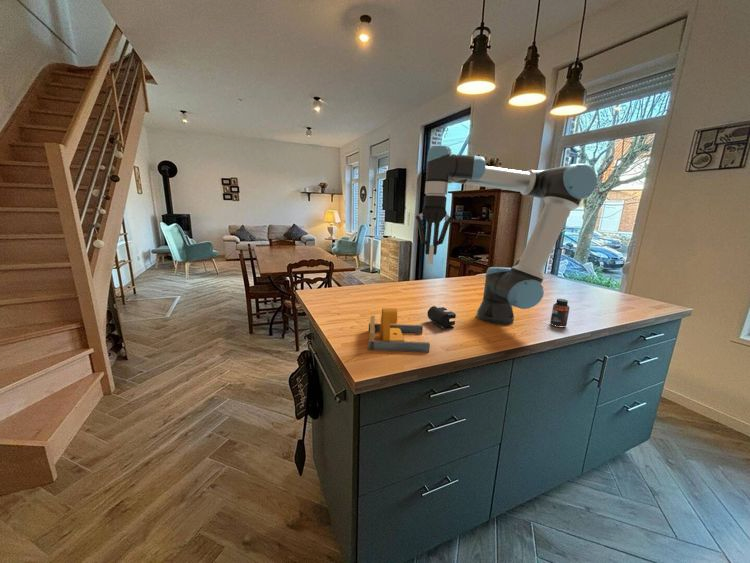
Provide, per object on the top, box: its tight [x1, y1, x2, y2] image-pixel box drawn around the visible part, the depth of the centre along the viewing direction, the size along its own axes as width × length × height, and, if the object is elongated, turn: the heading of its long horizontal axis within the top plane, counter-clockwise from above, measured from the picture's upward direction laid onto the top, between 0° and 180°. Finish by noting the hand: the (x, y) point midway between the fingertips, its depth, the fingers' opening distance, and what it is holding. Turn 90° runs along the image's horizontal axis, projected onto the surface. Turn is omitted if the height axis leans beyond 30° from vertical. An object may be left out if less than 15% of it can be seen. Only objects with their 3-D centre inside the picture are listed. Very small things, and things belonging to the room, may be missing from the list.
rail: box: [367, 315, 431, 353], centre depth 105 cm, size 20×16×6 cm
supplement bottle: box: [549, 298, 570, 327], centre depth 126 cm, size 6×6×11 cm
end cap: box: [426, 305, 457, 330], centre depth 122 cm, size 10×7×7 cm
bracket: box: [379, 307, 405, 342], centre depth 104 cm, size 11×7×12 cm, turn 5°
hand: (429, 263), depth 108 cm, fingers closed
